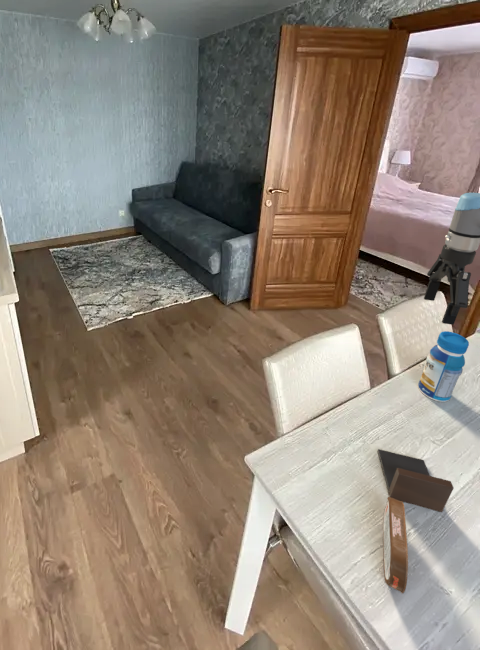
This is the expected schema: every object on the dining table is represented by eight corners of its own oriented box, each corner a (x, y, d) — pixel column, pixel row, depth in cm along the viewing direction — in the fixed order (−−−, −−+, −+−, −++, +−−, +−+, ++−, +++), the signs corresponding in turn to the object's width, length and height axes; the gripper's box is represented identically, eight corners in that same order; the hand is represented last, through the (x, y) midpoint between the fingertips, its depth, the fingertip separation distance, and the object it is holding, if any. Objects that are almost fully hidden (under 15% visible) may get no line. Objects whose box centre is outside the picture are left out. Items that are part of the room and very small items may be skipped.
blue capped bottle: (448, 408, 99) (472, 352, 91) (414, 392, 104) (433, 338, 96) (452, 391, 104) (474, 337, 97) (419, 377, 110) (438, 325, 102)
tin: (400, 604, 60) (414, 577, 57) (380, 593, 61) (392, 566, 58) (396, 519, 72) (407, 493, 69) (379, 511, 73) (388, 485, 70)
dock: (377, 451, 86) (384, 428, 83) (422, 462, 84) (432, 439, 81) (389, 498, 76) (399, 474, 73) (442, 512, 73) (454, 488, 70)
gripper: (427, 231, 110) (409, 289, 118) (466, 264, 88) (441, 332, 96) (454, 234, 108) (434, 292, 116) (501, 267, 86) (472, 337, 94)
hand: (437, 310), depth 106 cm, fingers open, 13 cm apart
